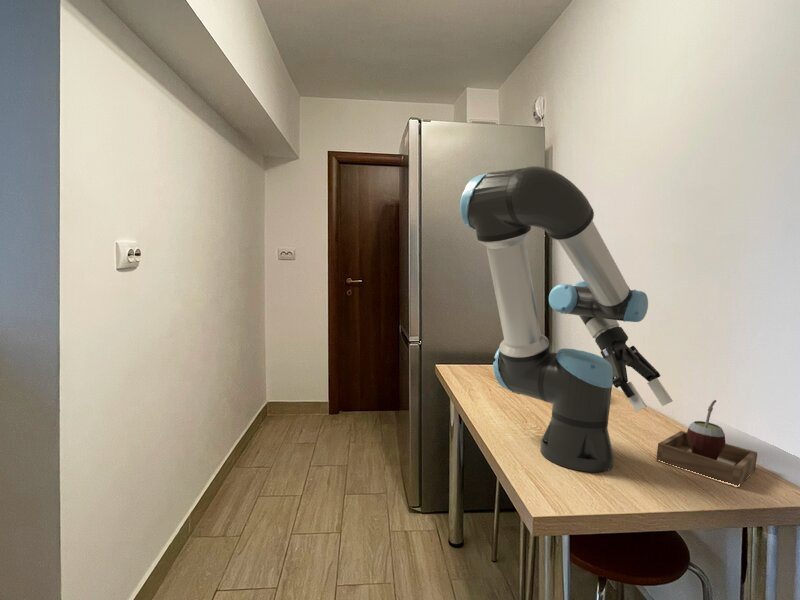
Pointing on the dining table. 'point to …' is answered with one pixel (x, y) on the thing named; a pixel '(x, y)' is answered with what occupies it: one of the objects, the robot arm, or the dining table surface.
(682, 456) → the tray
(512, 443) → the dining table surface
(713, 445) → the mate gourd
